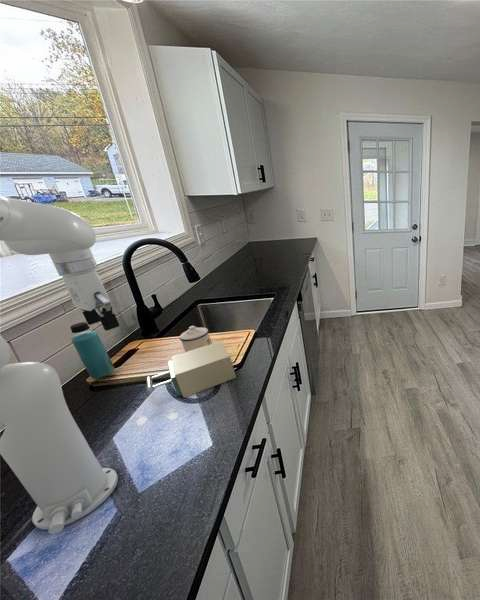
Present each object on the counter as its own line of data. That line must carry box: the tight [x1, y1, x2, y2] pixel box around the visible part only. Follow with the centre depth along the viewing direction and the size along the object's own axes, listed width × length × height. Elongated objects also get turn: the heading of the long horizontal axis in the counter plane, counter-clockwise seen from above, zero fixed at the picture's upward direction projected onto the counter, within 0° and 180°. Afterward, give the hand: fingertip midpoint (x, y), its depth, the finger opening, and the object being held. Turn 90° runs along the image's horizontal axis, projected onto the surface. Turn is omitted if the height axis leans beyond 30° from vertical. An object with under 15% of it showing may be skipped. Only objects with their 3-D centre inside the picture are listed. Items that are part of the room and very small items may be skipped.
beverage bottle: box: [69, 321, 115, 379], centre depth 102 cm, size 6×7×20 cm
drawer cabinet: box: [170, 340, 237, 399], centre depth 101 cm, size 15×14×8 cm
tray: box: [145, 360, 183, 397], centre depth 98 cm, size 20×12×6 cm, turn 129°
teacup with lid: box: [179, 325, 213, 352], centre depth 115 cm, size 12×9×12 cm
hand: (103, 325), depth 87 cm, fingers open, 9 cm apart
